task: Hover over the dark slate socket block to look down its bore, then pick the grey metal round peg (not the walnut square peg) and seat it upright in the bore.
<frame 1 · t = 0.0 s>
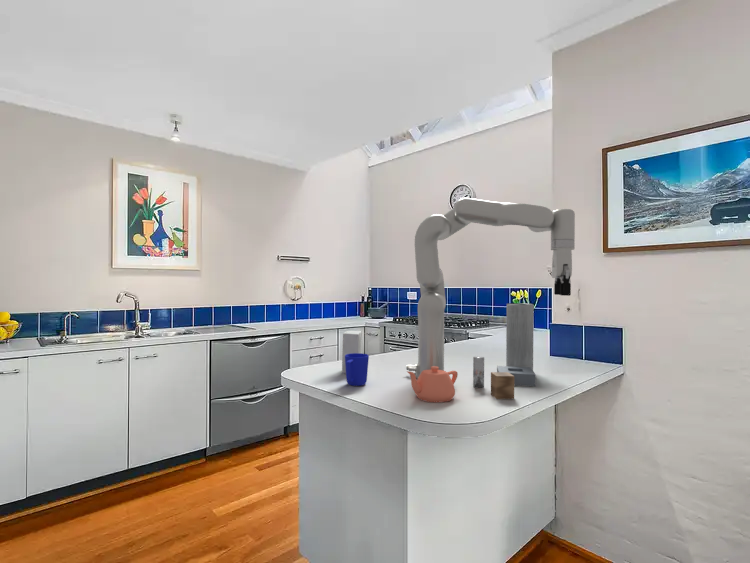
hand: (562, 295, 143), 31 cm above the table, fingers open, 9 cm apart
square peg: (502, 396, 128), on the table
skincare box: (352, 372, 162), on the table
mug: (354, 386, 140), on the table
vase: (519, 373, 162), on the table
socket block: (515, 381, 148), on the table
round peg: (478, 387, 140), on the table
teapot: (432, 398, 126), on the table
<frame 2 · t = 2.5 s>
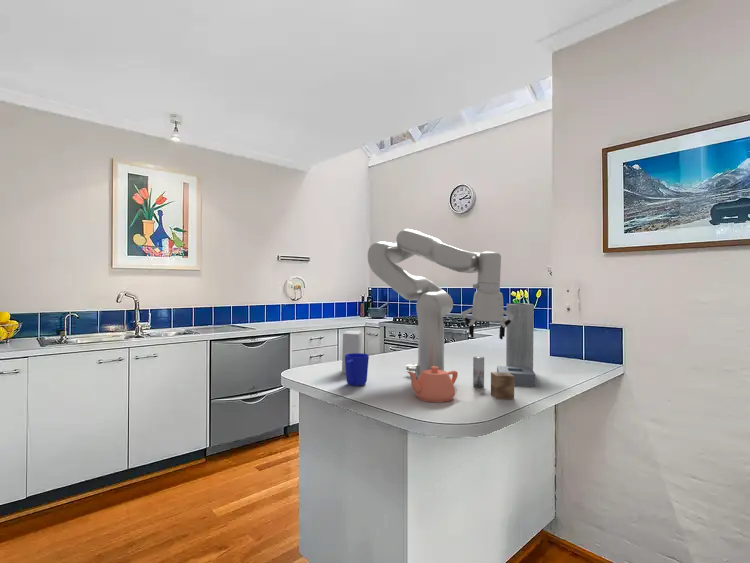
hand: (486, 337, 142), 16 cm above the table, fingers open, 9 cm apart
nothing on the table moved.
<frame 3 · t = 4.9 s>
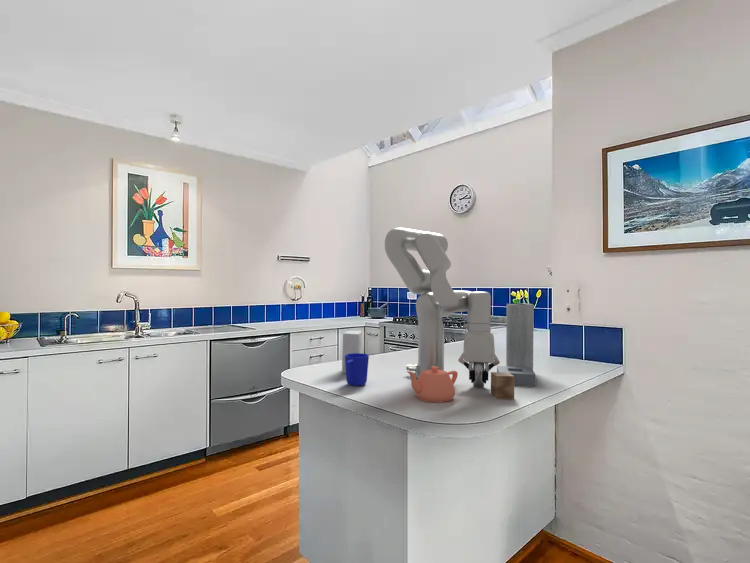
hand: (478, 381, 140), 2 cm above the table, fingers closed on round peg, 3 cm apart
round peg: (478, 387, 140), on the table, touching gripper
everything else where it was.
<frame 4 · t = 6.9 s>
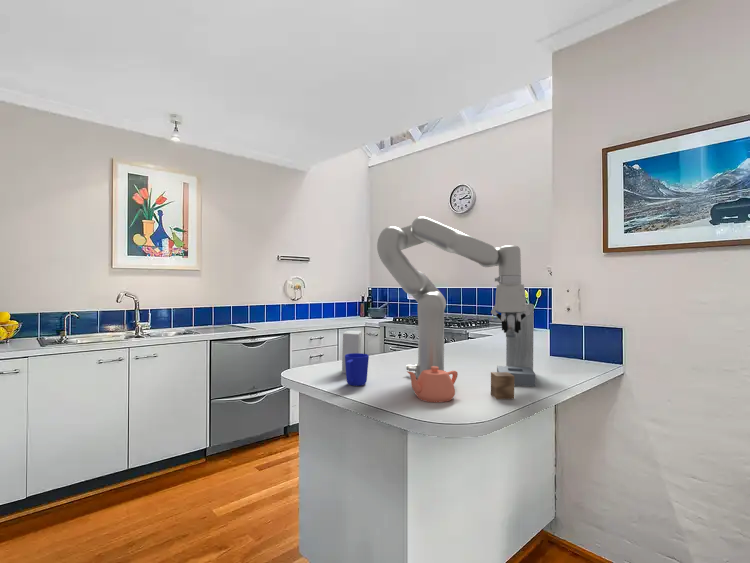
hand: (511, 331, 146), 18 cm above the table, fingers closed on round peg, 3 cm apart
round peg: (511, 336, 146), point 16 cm above the table, touching gripper
everything else where it was.
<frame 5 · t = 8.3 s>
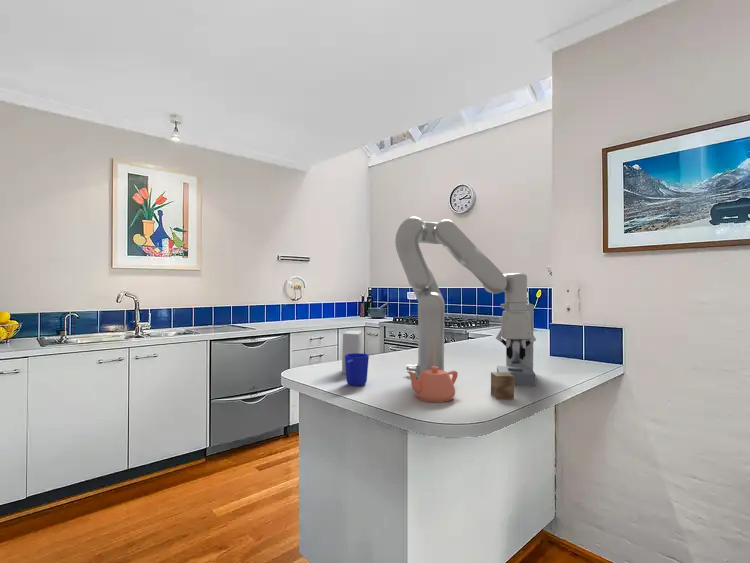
hand: (515, 358, 148), 8 cm above the table, fingers closed on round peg, 3 cm apart
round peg: (515, 363, 148), point 7 cm above the table, touching gripper
everything else where it was.
when the fingers open (5 cm above the table, at t = 9.3 s): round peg drops 3 cm, resting in socket block.
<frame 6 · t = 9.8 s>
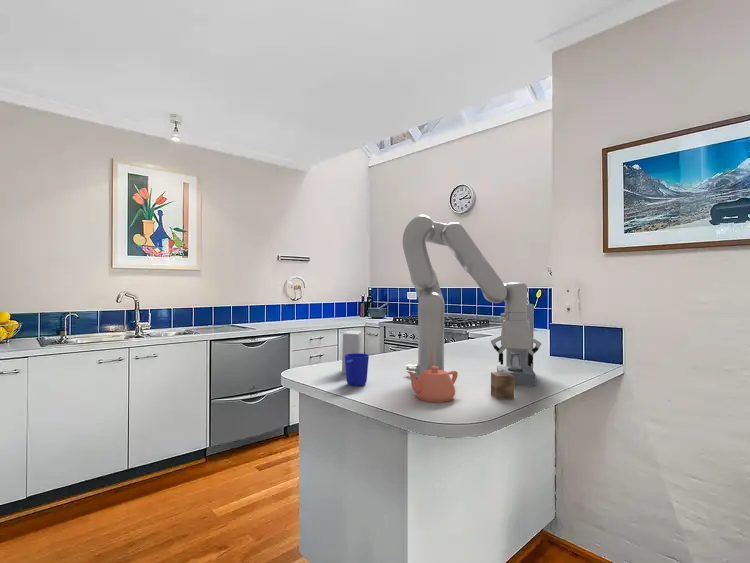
hand: (515, 364, 148), 6 cm above the table, fingers open, 9 cm apart
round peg: (515, 381, 148), resting in socket block
everything else where it was.
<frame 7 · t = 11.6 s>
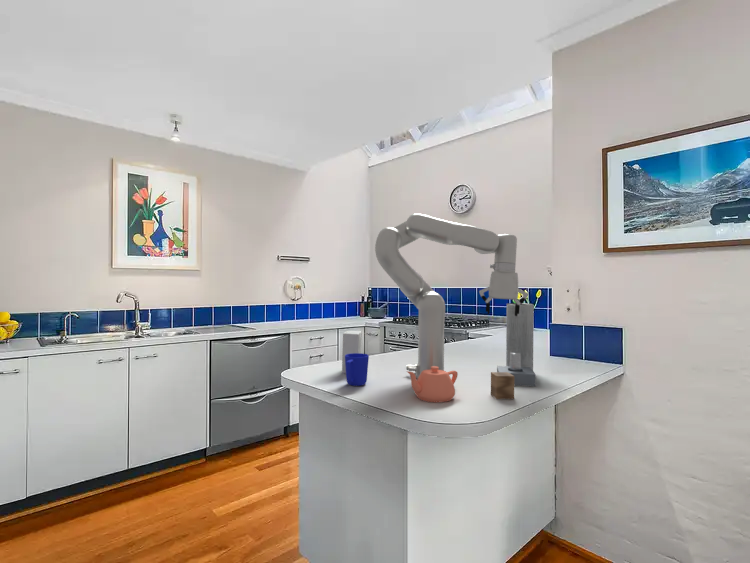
hand: (502, 314, 152), 23 cm above the table, fingers open, 9 cm apart
nothing on the table moved.
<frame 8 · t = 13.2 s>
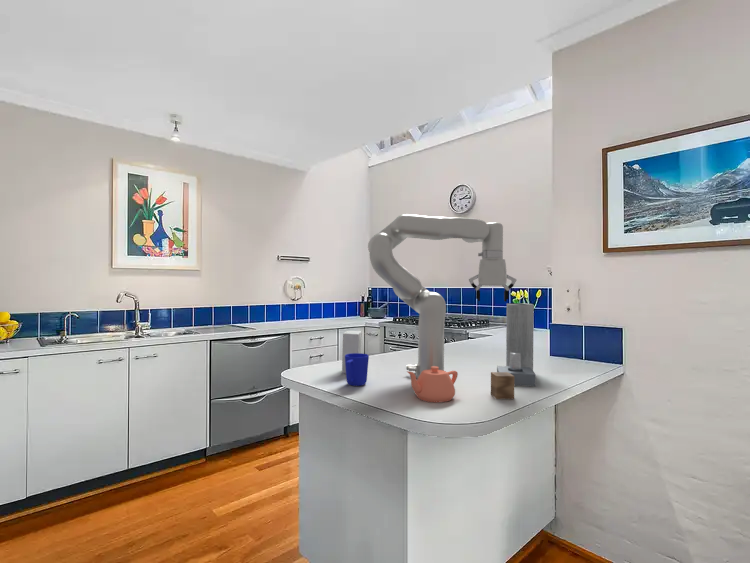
hand: (492, 301, 156), 28 cm above the table, fingers open, 9 cm apart
nothing on the table moved.
at the end: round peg 0.1 cm off-centre on the socket block, point 0.0 cm above the socket block's base; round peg tilted 0°; the gripper is holding nothing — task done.
